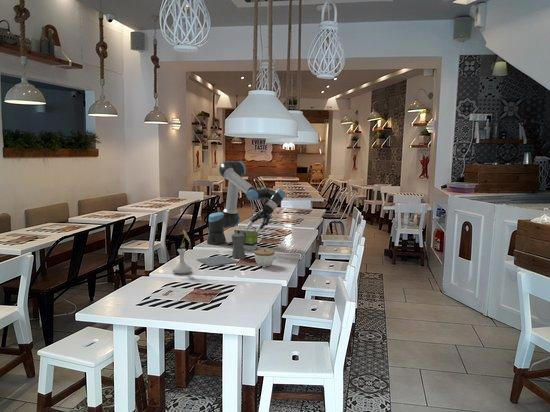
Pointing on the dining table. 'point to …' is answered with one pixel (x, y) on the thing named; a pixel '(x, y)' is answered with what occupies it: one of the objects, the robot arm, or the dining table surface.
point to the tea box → (248, 238)
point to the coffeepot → (238, 245)
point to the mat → (217, 261)
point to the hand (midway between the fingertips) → (251, 230)
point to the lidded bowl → (264, 257)
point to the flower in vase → (182, 260)
